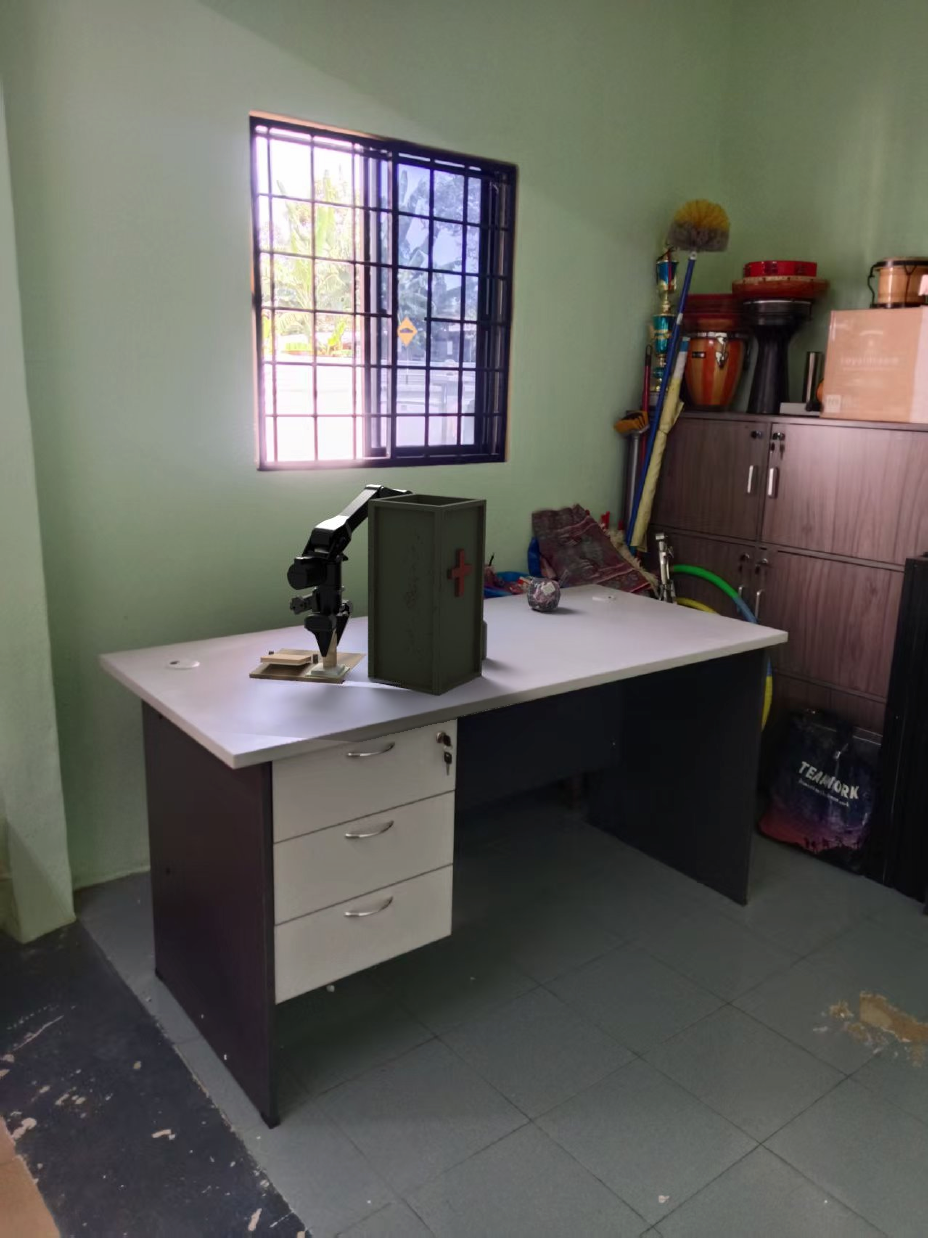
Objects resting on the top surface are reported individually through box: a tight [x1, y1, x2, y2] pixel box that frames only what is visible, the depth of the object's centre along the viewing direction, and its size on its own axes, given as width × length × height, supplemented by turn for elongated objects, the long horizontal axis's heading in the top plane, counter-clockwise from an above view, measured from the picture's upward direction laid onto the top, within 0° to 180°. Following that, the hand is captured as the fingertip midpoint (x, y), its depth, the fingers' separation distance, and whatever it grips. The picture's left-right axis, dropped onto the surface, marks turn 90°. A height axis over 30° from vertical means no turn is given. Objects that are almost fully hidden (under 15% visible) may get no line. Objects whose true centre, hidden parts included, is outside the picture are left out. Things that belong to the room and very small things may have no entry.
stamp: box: [311, 633, 345, 675], centre depth 218 cm, size 6×6×8 cm
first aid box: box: [367, 492, 488, 697], centre depth 215 cm, size 18×18×40 cm
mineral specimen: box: [526, 577, 562, 612], centre depth 290 cm, size 10×10×10 cm
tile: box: [259, 653, 311, 665], centre depth 222 cm, size 9×9×1 cm
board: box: [248, 648, 367, 685], centre depth 225 cm, size 21×22×3 cm
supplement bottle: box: [482, 614, 488, 661], centre depth 235 cm, size 7×7×12 cm
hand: (329, 651), depth 219 cm, fingers open, 9 cm apart
